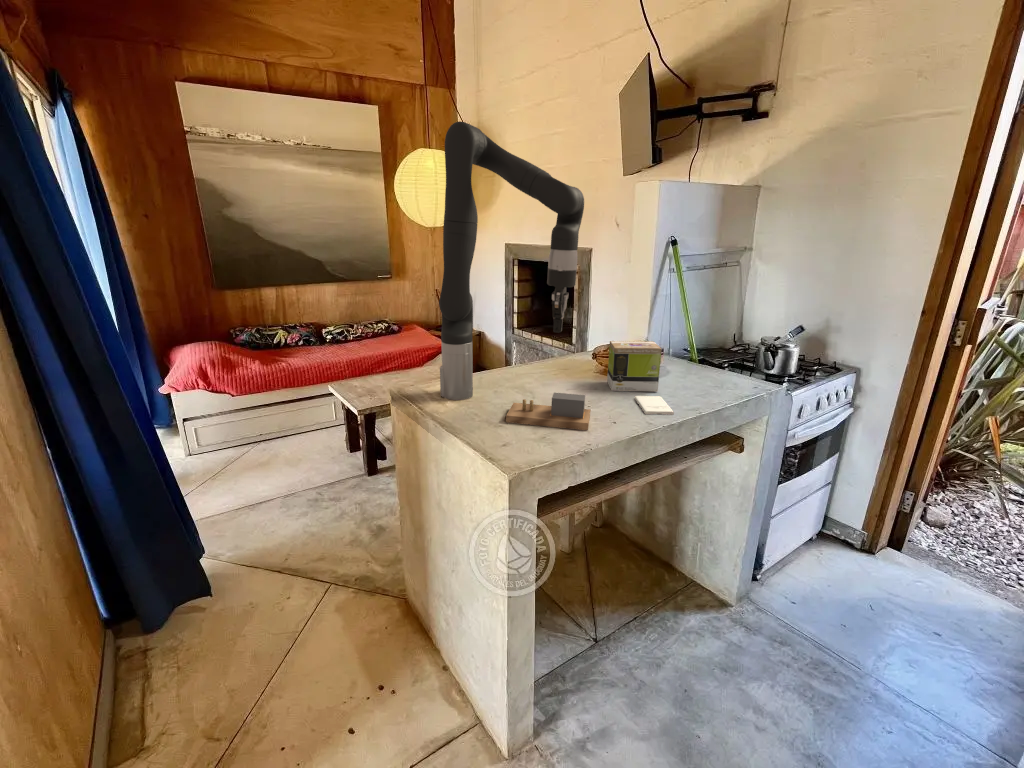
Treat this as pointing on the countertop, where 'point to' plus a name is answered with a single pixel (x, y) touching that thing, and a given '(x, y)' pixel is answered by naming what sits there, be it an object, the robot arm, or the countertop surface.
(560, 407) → the block
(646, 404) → the external hard drive
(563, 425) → the board
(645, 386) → the tea box
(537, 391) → the countertop surface
